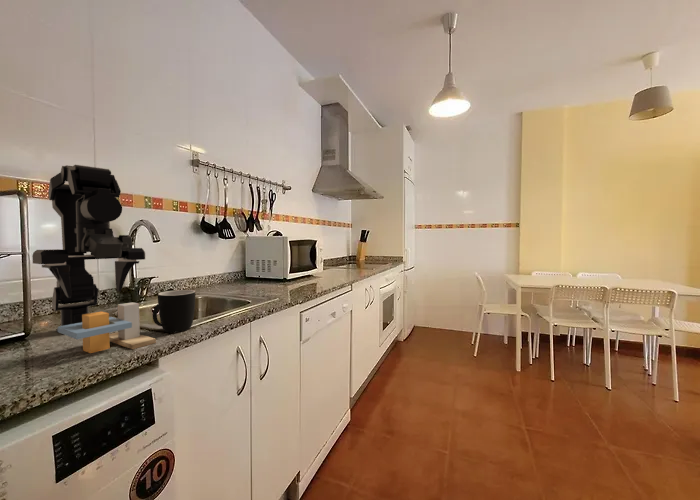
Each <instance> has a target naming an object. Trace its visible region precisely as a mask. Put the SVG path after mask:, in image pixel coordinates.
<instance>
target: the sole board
mask: <svg viewBox="0 0 700 500" xmlns="http://www.w3.org/2000/svg"><path fill="white" fill-rule="evenodd" d="M109 338H110V342H111V343H113V344H116V345H119V346H122V347H124V348H128V349H131V350H135V349H139V348H143V347H147V346H149V345H153V344H156V343H157V339H156V338H155V337H152V336H148V335H144V334H140V336H139V337H135V338H131V339H127V340H124V339H121V338H118V331H115V332H111V333H109Z"/></svg>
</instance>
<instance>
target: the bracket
mask: <svg viewBox="0 0 700 500" xmlns="http://www.w3.org/2000/svg"><path fill="white" fill-rule="evenodd" d="M57 328H58V331H57V333H59V334H62V335H64V336H67V337H69V338H73V339H74V340H81V339H83V338H86V337H91V336H95V335H100V334H104V333H109V334H110V333H115V332H118V338H121V339H124V340H127V339H131V338H135V337H139V336H140V331H141V329H140V303H138V302H127V303H119V304H117V318H116V317H113V316H109V325H105V326H100V327H95V328H90V329H83V328H82V322H81V323H75V324H70V325H64V326H61V325H59V326H57Z"/></svg>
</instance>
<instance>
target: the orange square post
mask: <svg viewBox="0 0 700 500" xmlns="http://www.w3.org/2000/svg"><path fill="white" fill-rule="evenodd" d="M109 317H110V313H109V312H105V311H96V312H89V314H83V315H82V328H83V329H90V328H95V327H100V326H105V325H109ZM109 334H110V332H109V333H104V334H100V335H95V336H91V337H86V338H82V351H83V352H85V353H89V354H92V353H97V352H101V351H105V350H108V349H111V348H110V347H111V346H110V338H109Z"/></svg>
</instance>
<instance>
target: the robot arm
mask: <svg viewBox="0 0 700 500" xmlns="http://www.w3.org/2000/svg"><path fill="white" fill-rule="evenodd" d="M66 182H68V183H66ZM120 196H121V188H120V185H119V183H118V181H117V179H116V177H115V175H114V174H112V171H111V170H110V169H109V168H102V167H96V166H88V165H83V164H82V165H81V164H73V165H61V170H60V172H59V173H57V174H56V175H54V176H53V177H51V178H50V179H49V186H48V200H49V201H51V205H52V209H53V210H54V212H55V213H56V214H57V216H59V217H60V221H61V224H60V225H61V240H62V243H61V245H62V249H36V250H35V251H34V252H33V254H32V255H31V256H32V264H36V265H41V268H43V269H44V268H45V269H48V270H49V271H50V272H51V274H52V275H53V276H54V278H55V279H56V287H54V288H53V293H52V300H51V301H52V302H51V304H52V309H53V310H54V312H56V311H57V312H58V311H60V326H64V325H70V324H75V323H81V322H82V315H83V314H89V313H90V310H89V308H90V307H97V305H98V297H99V291H100V290H99V289H100V288H98V287H97V284H96V283H94V282H95V281H94V276H93V275H92V274H90V272H88V270H87V269H86V263H85V262H86V260H107V259H108V260H109V259H111V260H112V259H118V260H116V261H114V272H115V273H114V275H115V288H116V291H117V292H121V291H122V289H123V287H124V285H125V281H126V279H127V277H128V274H129V272H130V271H131V268H133V267H134V266H135V265H136V264H139V263H140V261H141V260H146V251H145V250H144V249H143V248H142V247H132V246H133V242H132V236H130V235H128V234H119V235H118V236H114V231H113V228H111V227H110V222H114V221H116V220H117V219H118V218H119V217H120V216H121V214H122V211H123V205H122V204H121V201H119V198H120ZM87 253H90V254H87ZM55 332H58V327H57V328H55Z"/></svg>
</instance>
